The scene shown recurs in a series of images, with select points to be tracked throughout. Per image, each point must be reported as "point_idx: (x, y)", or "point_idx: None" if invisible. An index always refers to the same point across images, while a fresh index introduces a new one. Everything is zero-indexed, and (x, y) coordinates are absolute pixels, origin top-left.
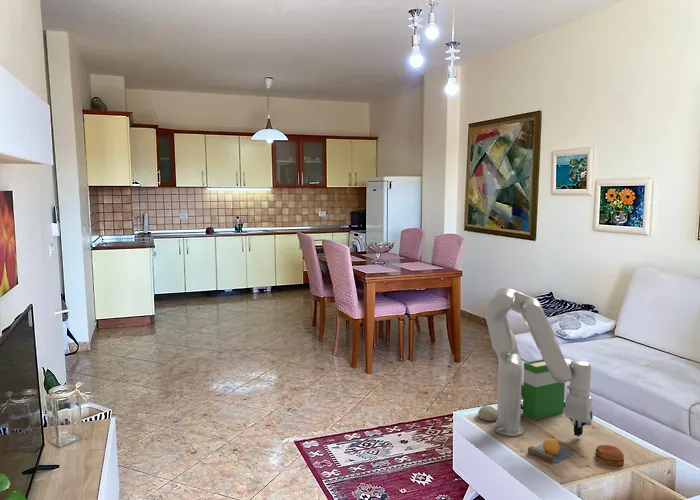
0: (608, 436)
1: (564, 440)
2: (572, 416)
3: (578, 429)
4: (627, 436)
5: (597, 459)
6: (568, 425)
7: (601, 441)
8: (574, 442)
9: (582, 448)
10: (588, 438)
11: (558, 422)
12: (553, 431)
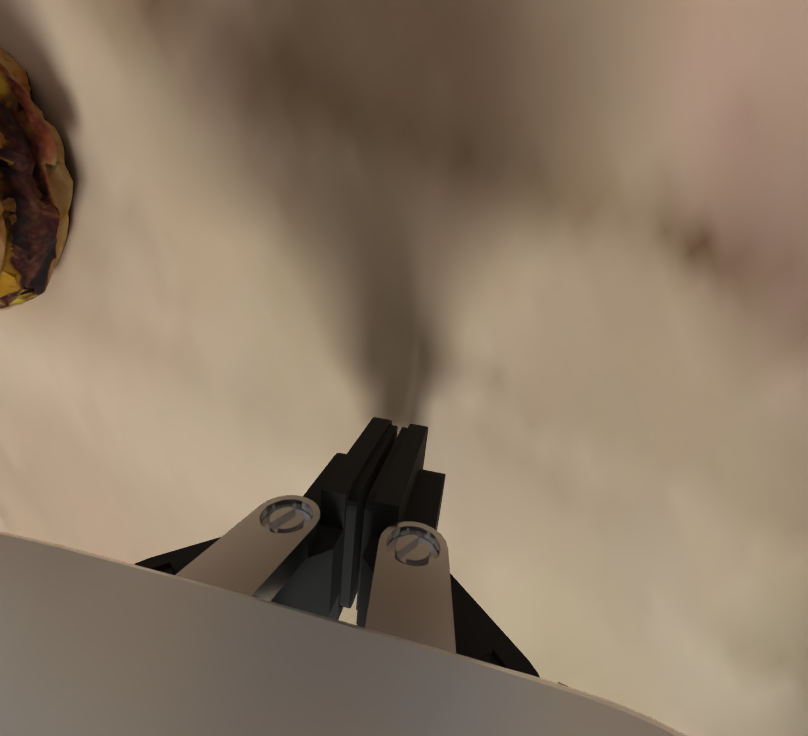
0: None
1: (508, 271)
2: (336, 731)
3: (338, 477)
4: None
5: (5, 56)
6: (624, 690)
7: (222, 522)
8: (388, 312)
9: (253, 225)
10: None
11: (765, 713)
12: (747, 437)
